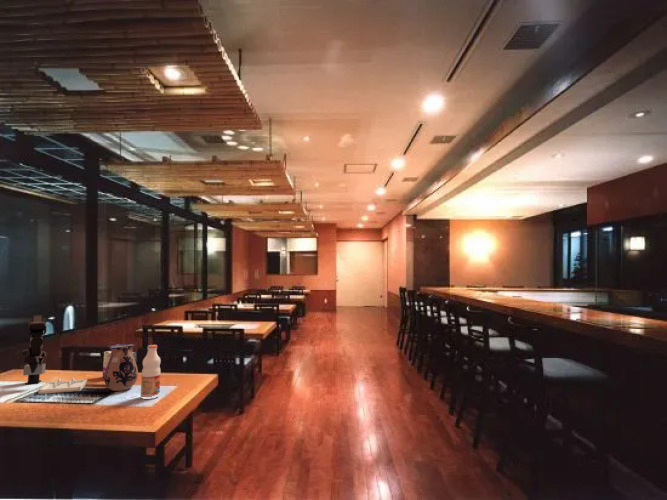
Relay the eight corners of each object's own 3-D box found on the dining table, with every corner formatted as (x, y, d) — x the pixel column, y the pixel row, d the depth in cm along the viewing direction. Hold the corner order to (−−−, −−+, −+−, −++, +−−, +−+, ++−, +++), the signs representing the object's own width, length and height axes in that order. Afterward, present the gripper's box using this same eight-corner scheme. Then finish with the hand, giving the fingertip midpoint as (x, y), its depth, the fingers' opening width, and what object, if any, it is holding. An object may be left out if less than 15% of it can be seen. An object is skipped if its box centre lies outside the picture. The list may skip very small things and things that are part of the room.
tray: (47, 385, 236) (48, 378, 236) (86, 383, 243) (87, 375, 243) (38, 394, 220) (38, 385, 220) (80, 390, 227) (80, 382, 227)
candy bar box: (121, 377, 256) (122, 351, 257) (114, 379, 252) (115, 353, 253) (109, 375, 261) (110, 350, 262) (102, 377, 256) (103, 351, 257)
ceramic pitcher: (111, 395, 220) (114, 349, 221) (95, 388, 232) (97, 345, 234) (143, 388, 234) (145, 345, 235) (125, 382, 246) (127, 341, 248)
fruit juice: (139, 396, 219) (141, 344, 221) (157, 393, 224) (159, 343, 226) (141, 400, 211) (144, 347, 213) (160, 398, 217) (163, 346, 218)
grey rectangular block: (26, 373, 231) (27, 364, 231) (45, 372, 234) (45, 363, 234) (23, 375, 226) (23, 366, 227) (41, 374, 229) (42, 365, 230)
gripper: (25, 342, 237) (23, 369, 236) (12, 348, 220) (10, 376, 219) (47, 341, 241) (45, 367, 240) (37, 347, 224) (35, 375, 223)
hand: (34, 371), depth 230 cm, fingers closed on grey rectangular block, 5 cm apart
